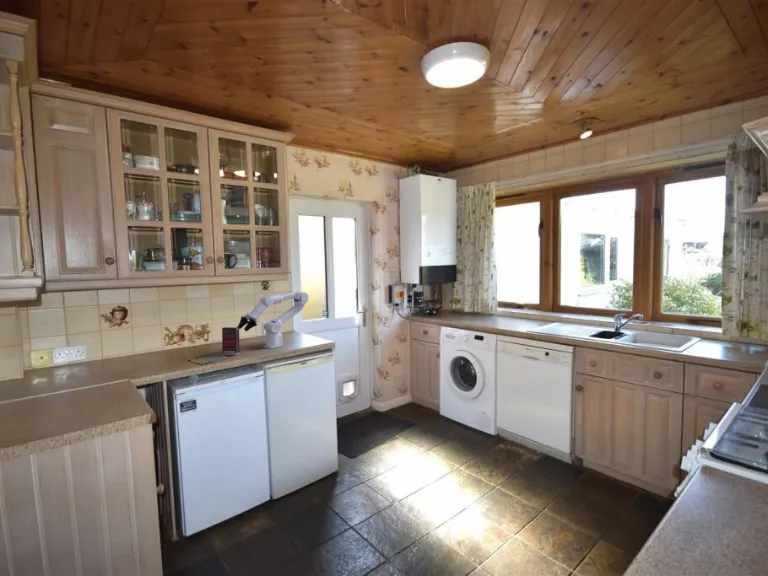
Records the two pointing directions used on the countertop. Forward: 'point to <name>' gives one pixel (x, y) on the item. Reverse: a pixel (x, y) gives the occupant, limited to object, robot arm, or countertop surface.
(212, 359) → the mat
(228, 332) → the supplement box
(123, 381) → the countertop surface
